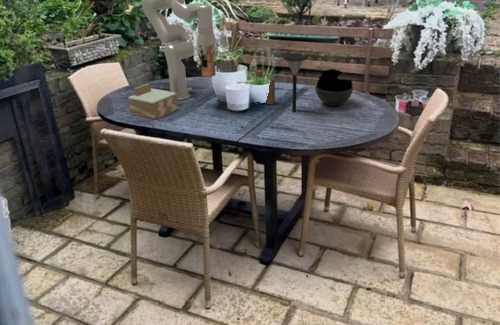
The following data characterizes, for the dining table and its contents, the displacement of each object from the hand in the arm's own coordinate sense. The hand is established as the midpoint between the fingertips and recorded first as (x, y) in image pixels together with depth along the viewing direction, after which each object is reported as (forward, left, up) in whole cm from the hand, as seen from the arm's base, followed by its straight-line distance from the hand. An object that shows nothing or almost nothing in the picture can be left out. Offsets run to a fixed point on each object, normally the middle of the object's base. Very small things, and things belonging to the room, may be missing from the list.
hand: (208, 65), depth 236 cm
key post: (0, 0, -5) cm, 5 cm away
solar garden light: (-16, +43, -24) cm, 52 cm away
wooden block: (-21, +22, -24) cm, 39 cm away
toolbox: (+20, -23, -23) cm, 38 cm away
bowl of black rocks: (-37, +56, -24) cm, 71 cm away
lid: (+20, -23, -15) cm, 34 cm away
